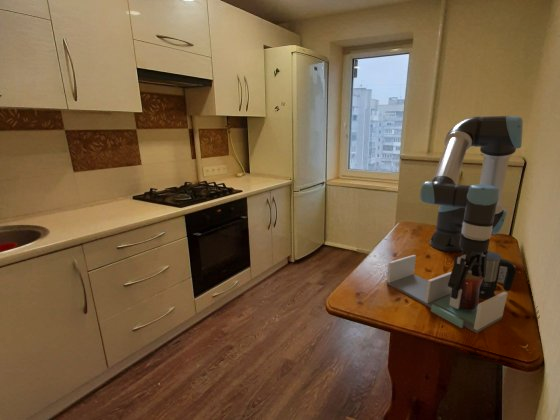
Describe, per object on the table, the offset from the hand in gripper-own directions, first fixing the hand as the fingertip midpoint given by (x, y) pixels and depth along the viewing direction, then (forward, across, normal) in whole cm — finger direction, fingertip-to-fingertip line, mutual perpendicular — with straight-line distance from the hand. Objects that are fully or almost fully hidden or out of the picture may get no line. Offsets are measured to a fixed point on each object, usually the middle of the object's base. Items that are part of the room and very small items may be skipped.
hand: (463, 302), depth 98 cm
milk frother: (+4, -22, -5) cm, 22 cm away
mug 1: (+1, +1, +1) cm, 2 cm away
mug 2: (+4, -36, -5) cm, 37 cm away
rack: (+3, 0, -8) cm, 9 cm away
